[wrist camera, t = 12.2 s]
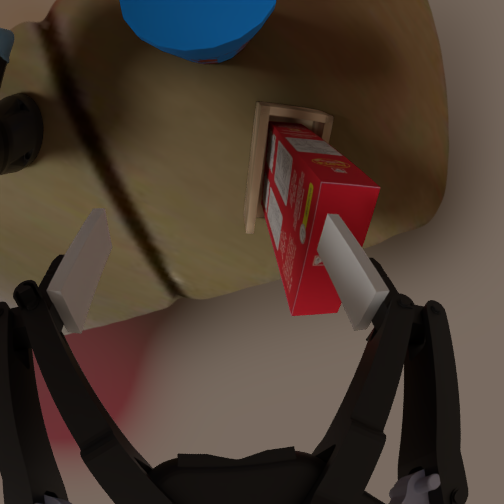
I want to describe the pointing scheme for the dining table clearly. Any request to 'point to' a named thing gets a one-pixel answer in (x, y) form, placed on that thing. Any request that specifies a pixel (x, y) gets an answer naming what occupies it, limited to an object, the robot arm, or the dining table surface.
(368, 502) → the robot arm
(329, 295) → the food packaging
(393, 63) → the dining table surface
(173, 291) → the dining table surface
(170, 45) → the thermos
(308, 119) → the u rest
